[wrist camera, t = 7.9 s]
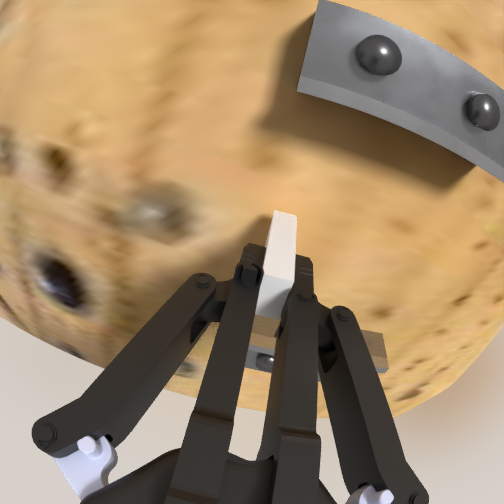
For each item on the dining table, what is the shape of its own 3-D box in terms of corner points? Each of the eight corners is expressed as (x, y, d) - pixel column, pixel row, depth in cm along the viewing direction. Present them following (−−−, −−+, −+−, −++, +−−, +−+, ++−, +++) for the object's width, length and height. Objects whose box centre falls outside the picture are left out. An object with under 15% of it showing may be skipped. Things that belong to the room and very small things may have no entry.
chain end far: (233, 339, 28) (225, 373, 25) (242, 303, 25) (233, 340, 22) (357, 364, 28) (360, 396, 25) (382, 333, 25) (388, 368, 22)
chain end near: (296, 89, 15) (296, 91, 12) (315, 11, 12) (321, -8, 8) (478, 164, 15) (509, 186, 11) (498, 100, 12) (534, 111, 8)
